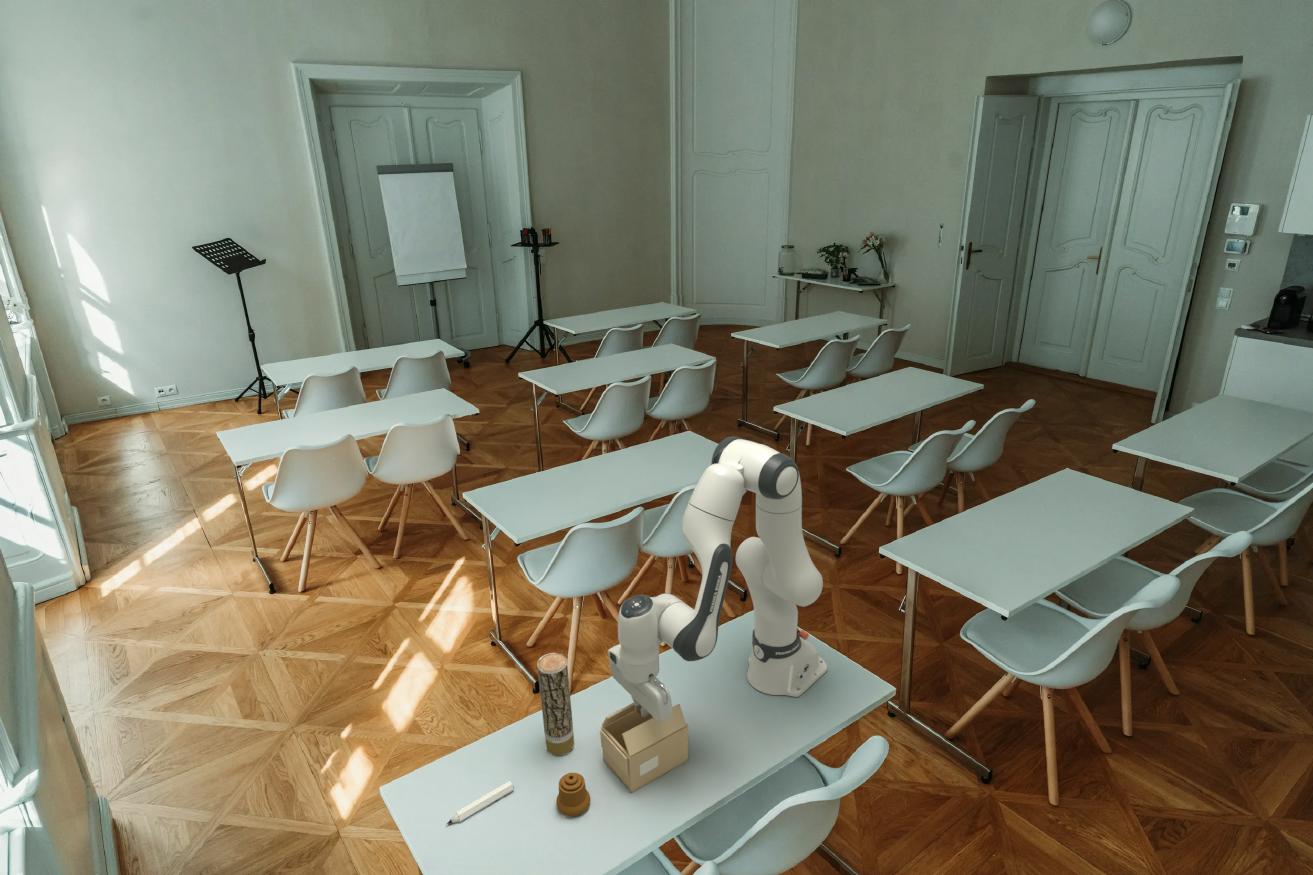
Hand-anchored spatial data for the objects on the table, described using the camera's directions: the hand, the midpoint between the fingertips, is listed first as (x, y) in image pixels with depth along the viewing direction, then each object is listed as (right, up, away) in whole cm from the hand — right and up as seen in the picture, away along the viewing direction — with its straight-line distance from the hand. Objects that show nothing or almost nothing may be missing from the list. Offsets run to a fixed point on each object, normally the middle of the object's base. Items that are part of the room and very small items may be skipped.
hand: (641, 712), depth 178 cm
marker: (-36, -19, -6) cm, 41 cm away
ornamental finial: (-15, -18, -7) cm, 24 cm away
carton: (+1, -13, +5) cm, 14 cm away
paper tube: (-20, -12, +9) cm, 25 cm away
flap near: (+4, -5, -4) cm, 7 cm away
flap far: (-3, -1, +5) cm, 6 cm away
